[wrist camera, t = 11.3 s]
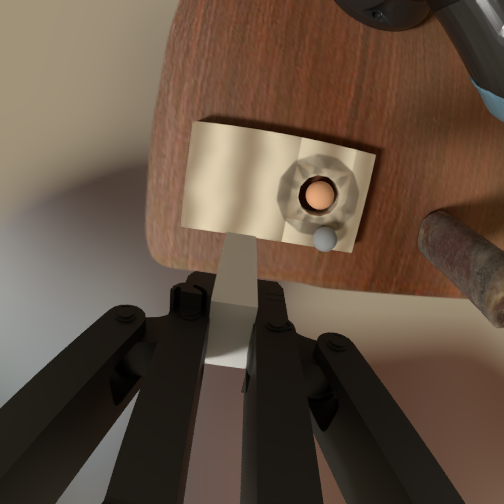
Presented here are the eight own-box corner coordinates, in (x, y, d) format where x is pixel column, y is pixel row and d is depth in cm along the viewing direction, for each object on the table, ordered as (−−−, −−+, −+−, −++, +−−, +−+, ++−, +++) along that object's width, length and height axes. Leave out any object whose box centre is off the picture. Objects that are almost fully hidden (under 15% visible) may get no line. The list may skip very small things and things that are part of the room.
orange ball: (300, 187, 39) (300, 193, 36) (323, 173, 38) (325, 178, 35) (314, 210, 40) (315, 217, 37) (337, 197, 39) (340, 203, 36)
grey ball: (306, 231, 39) (310, 239, 36) (327, 219, 38) (333, 226, 35) (317, 250, 40) (322, 260, 37) (337, 238, 39) (344, 247, 36)
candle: (446, 258, 43) (522, 328, 24) (409, 256, 43) (483, 335, 24) (456, 211, 40) (546, 267, 21) (419, 207, 40) (509, 267, 21)
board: (184, 220, 41) (180, 226, 38) (196, 121, 36) (193, 121, 33) (346, 245, 42) (351, 252, 40) (368, 152, 37) (375, 154, 35)
